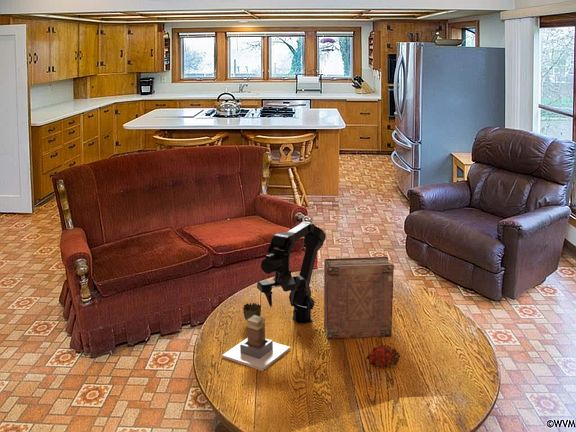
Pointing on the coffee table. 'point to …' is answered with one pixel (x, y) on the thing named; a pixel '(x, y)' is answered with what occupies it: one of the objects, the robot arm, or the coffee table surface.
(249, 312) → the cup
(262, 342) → the walnut post
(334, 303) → the book
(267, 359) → the plate
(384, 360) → the dragon fruit
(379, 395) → the coffee table surface
